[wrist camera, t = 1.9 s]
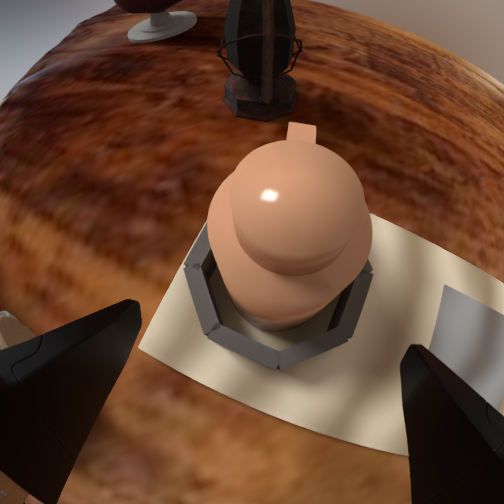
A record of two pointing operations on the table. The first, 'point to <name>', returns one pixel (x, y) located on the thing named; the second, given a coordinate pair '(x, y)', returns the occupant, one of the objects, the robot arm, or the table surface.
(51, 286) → the table surface
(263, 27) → the lantern
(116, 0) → the mate gourd
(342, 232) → the peach jug
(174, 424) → the table surface
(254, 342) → the board
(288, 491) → the table surface
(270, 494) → the table surface
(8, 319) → the ceramic mug
